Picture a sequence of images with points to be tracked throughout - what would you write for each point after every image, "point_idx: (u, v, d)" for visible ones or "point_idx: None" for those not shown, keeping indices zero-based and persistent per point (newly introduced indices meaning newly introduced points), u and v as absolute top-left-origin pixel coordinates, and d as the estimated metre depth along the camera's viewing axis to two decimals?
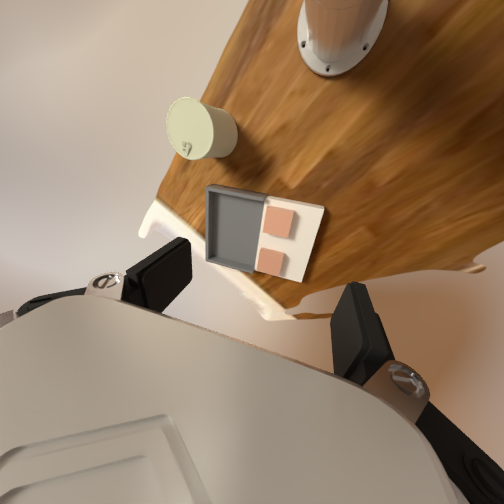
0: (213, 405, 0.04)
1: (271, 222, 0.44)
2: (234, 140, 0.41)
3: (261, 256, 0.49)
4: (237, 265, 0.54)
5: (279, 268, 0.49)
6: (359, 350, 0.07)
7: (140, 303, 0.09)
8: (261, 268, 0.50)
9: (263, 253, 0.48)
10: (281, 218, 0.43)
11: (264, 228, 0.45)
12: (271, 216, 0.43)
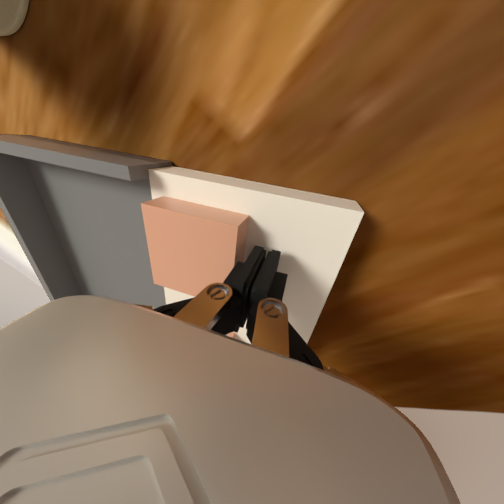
0: (213, 405, 0.04)
1: (170, 256, 0.13)
2: None
3: None
4: None
5: None
6: (251, 293, 0.09)
7: (239, 312, 0.09)
8: None
9: None
10: (198, 244, 0.11)
11: (155, 272, 0.14)
12: (165, 236, 0.12)
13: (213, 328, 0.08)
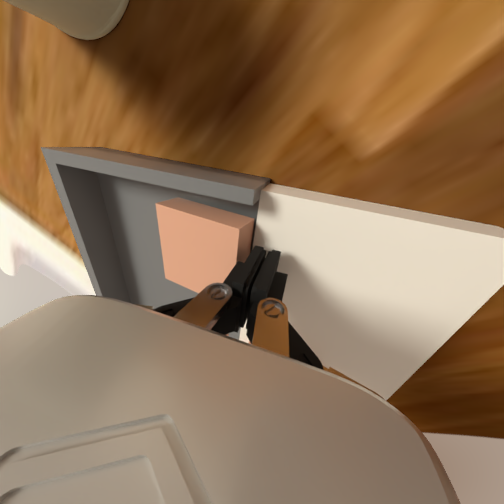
0: (213, 405, 0.04)
1: (179, 253, 0.13)
2: None
3: None
4: None
5: None
6: (251, 293, 0.09)
7: (239, 312, 0.09)
8: None
9: None
10: (203, 244, 0.12)
11: (167, 268, 0.15)
12: (175, 234, 0.13)
13: (213, 328, 0.08)
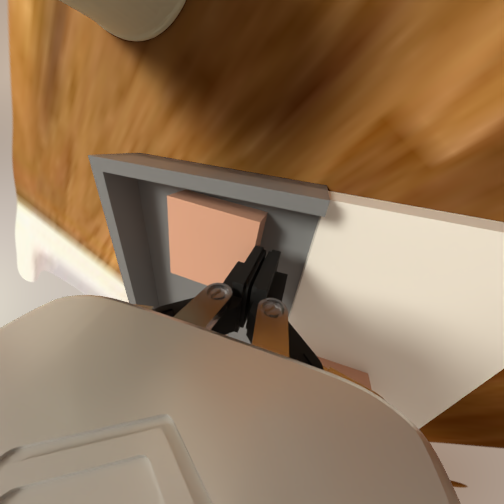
0: (213, 405, 0.04)
1: (190, 247, 0.13)
2: None
3: None
4: None
5: None
6: (251, 293, 0.09)
7: (239, 312, 0.09)
8: None
9: None
10: (219, 237, 0.12)
11: (173, 262, 0.14)
12: (187, 228, 0.13)
13: (213, 328, 0.08)
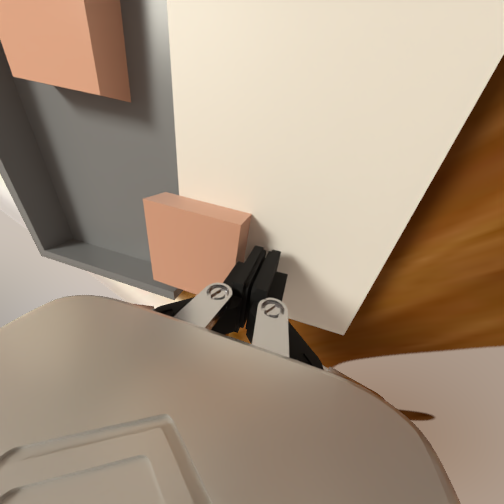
0: (213, 405, 0.04)
1: (12, 4, 0.09)
2: None
3: (155, 227, 0.12)
4: (128, 271, 0.16)
5: None
6: (251, 293, 0.09)
7: (239, 312, 0.09)
8: (167, 273, 0.14)
9: (161, 213, 0.11)
10: None
11: (8, 51, 0.10)
12: None
13: (213, 328, 0.08)
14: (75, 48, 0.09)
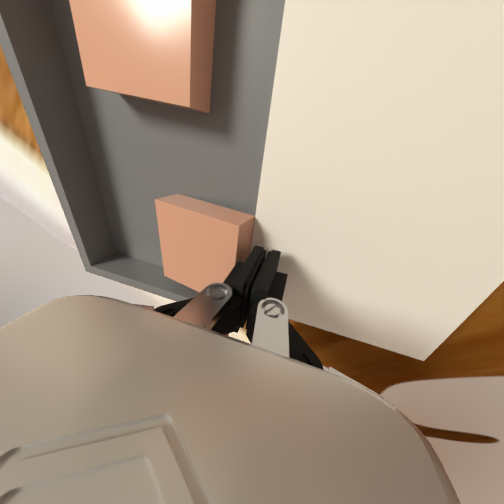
0: (213, 405, 0.04)
1: (100, 7, 0.08)
2: None
3: (165, 226, 0.13)
4: (183, 289, 0.15)
5: None
6: (251, 293, 0.09)
7: (239, 312, 0.09)
8: (175, 270, 0.14)
9: (170, 213, 0.12)
10: None
11: (85, 59, 0.10)
12: None
13: (213, 328, 0.08)
14: (169, 56, 0.08)
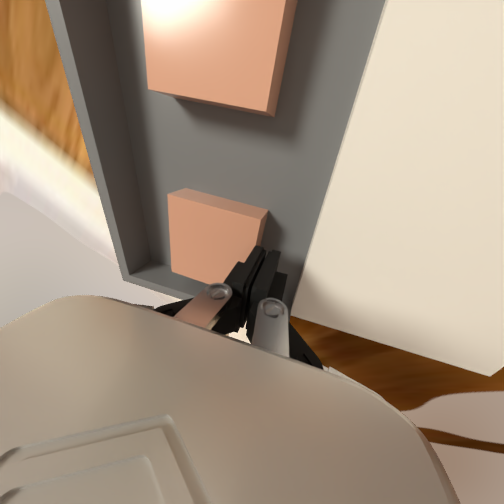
0: (213, 405, 0.04)
1: (176, 4, 0.08)
2: None
3: (177, 221, 0.13)
4: None
5: None
6: (251, 293, 0.09)
7: (239, 312, 0.09)
8: (185, 265, 0.14)
9: (184, 208, 0.12)
10: None
11: (151, 60, 0.09)
12: None
13: (213, 328, 0.08)
14: (250, 56, 0.08)
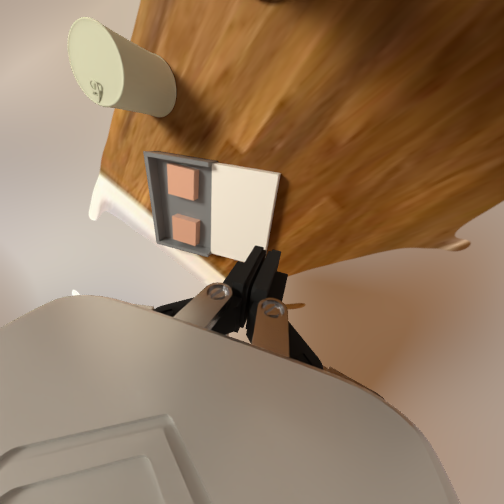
0: (213, 405, 0.04)
1: (174, 181, 0.40)
2: (171, 92, 0.35)
3: (174, 223, 0.45)
4: (191, 248, 0.47)
5: (194, 236, 0.45)
6: (251, 293, 0.09)
7: (239, 312, 0.09)
8: (177, 236, 0.47)
9: (176, 219, 0.44)
10: (183, 177, 0.39)
11: (169, 189, 0.41)
12: (173, 174, 0.39)
13: (213, 328, 0.08)
14: (189, 191, 0.40)
